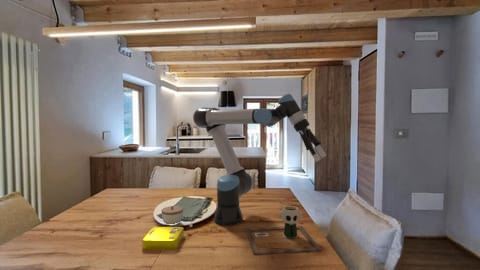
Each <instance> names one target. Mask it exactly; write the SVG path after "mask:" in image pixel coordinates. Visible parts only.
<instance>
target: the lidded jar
mask: <svg viewBox="0 0 480 270" xmlns="http://www.w3.org/2000/svg"><path fill="white" fill-rule="evenodd" d="M183 212H184V209H183V207H182V206H179V205H171V206H170V205H169V206H166V207H164V208H161V219H162V221H163V223H164V224H165V223H166V224H175V223H178V222H179V223H180V222H181V221H182V219H183ZM166 224H165V225H166Z"/></svg>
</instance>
